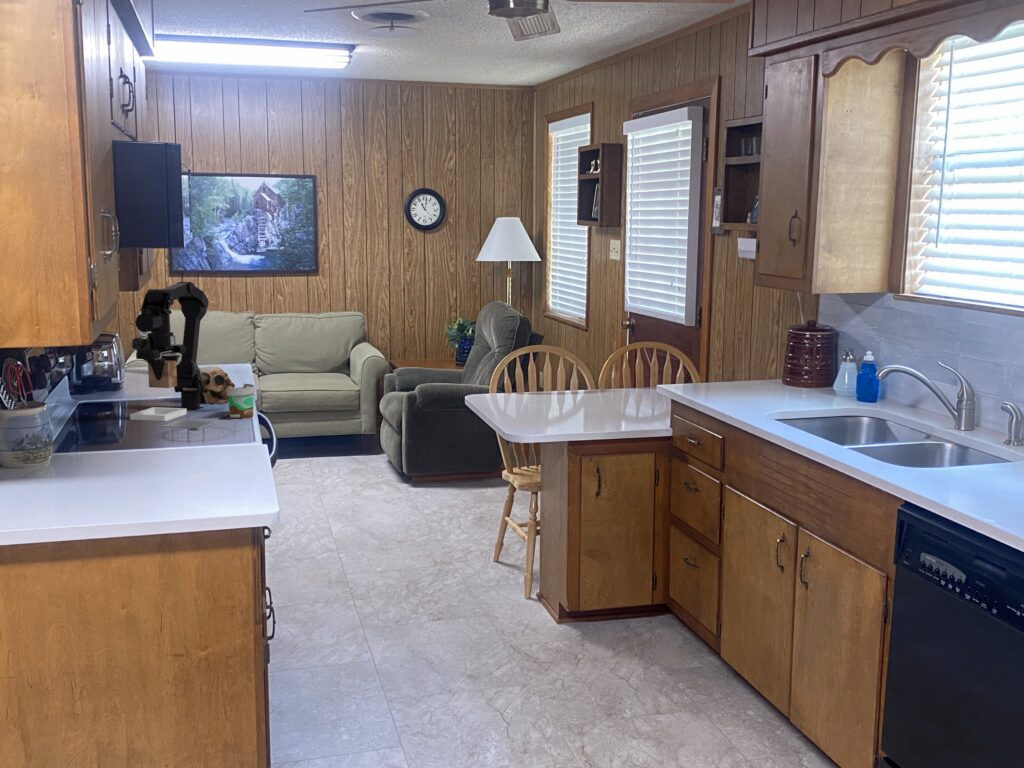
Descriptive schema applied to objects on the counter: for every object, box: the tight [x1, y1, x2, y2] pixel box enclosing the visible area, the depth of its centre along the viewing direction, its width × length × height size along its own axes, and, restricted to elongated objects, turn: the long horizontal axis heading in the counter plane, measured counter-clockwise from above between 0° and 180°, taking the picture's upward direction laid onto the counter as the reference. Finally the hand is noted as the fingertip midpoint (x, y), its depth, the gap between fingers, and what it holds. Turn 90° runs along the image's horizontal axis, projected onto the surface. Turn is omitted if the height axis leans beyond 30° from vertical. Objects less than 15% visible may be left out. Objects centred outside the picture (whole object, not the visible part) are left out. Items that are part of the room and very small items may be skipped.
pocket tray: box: [129, 406, 188, 422], centre depth 314 cm, size 13×12×2 cm
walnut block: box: [147, 361, 177, 389], centre depth 309 cm, size 4×7×8 cm, turn 76°
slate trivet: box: [161, 419, 215, 431], centre depth 301 cm, size 10×12×1 cm
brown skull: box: [189, 365, 236, 404], centre depth 346 cm, size 16×17×13 cm
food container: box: [227, 383, 257, 420], centre depth 316 cm, size 12×6×10 cm, turn 168°
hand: (162, 379), depth 309 cm, fingers closed on walnut block, 4 cm apart
